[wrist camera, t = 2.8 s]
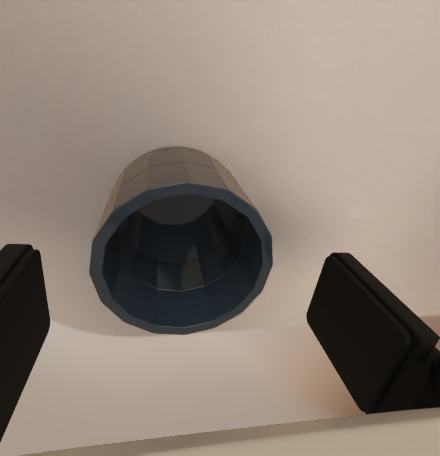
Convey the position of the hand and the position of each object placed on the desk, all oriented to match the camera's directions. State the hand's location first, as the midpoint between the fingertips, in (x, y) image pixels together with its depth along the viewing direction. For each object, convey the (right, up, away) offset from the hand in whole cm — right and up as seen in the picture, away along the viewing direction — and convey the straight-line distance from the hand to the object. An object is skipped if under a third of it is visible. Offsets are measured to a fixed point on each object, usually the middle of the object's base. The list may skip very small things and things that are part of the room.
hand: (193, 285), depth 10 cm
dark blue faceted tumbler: (-1, +3, +5) cm, 6 cm away
